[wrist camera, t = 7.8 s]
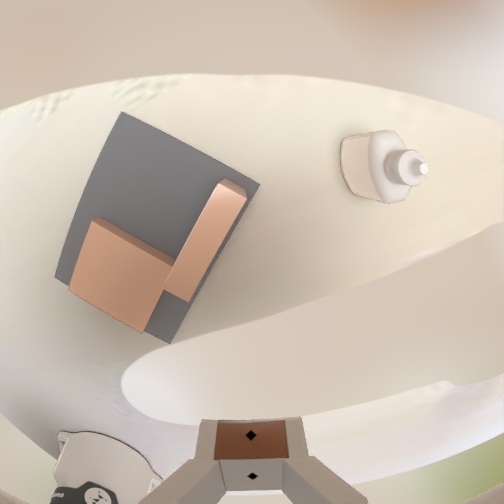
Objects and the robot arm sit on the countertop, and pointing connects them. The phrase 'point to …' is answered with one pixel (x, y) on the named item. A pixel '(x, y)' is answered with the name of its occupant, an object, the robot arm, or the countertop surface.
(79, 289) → the tile
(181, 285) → the tile
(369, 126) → the countertop surface
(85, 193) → the mat
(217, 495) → the robot arm
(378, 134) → the eye dropper bottle
